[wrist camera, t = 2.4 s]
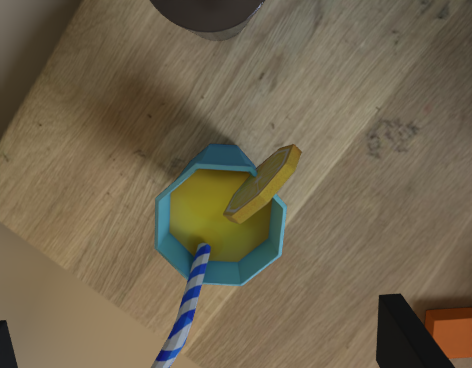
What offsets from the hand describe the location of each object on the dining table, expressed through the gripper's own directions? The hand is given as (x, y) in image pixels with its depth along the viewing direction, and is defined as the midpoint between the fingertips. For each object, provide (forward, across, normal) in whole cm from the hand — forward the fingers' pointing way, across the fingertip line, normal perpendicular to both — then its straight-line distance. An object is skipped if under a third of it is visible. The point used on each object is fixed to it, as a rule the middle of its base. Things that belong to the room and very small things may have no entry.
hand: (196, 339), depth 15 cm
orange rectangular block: (+20, +20, -15) cm, 32 cm away
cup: (+20, 0, 0) cm, 20 cm away
